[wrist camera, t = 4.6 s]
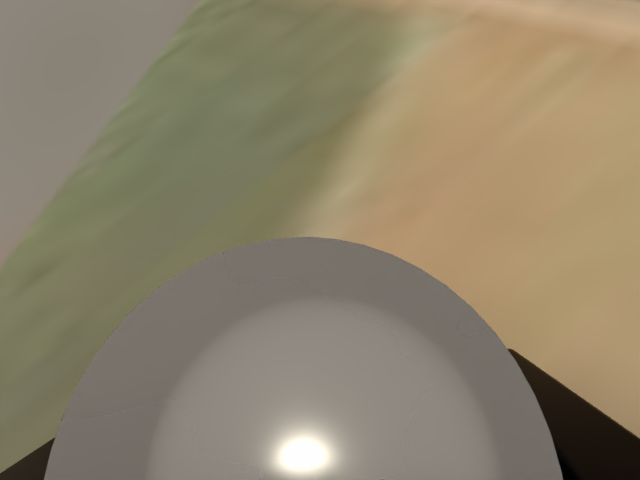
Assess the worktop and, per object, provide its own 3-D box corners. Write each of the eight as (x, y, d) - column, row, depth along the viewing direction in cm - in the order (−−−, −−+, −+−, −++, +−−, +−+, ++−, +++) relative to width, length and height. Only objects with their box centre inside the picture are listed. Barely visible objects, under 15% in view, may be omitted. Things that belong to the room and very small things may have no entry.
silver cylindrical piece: (376, 617, 12) (280, 1101, 3) (240, 459, 14) (-47, 489, 5) (502, 450, 13) (693, 470, 4) (356, 325, 15) (279, 162, 6)
